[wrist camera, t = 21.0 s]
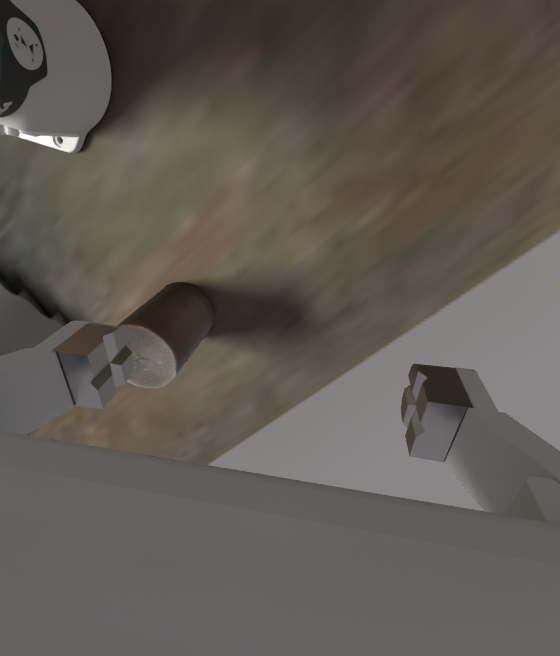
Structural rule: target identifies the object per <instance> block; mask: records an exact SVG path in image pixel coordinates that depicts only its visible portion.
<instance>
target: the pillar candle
mask: <svg viewBox="0 0 560 656" xmlns="http://www.w3.org/2000/svg"><path fill="white" fill-rule="evenodd" d="M213 322H214V310H213V307H212V304H211V303H210V301H209V299H208V298H207V297H206V295H205V294H204V293H203V292H202V291H201V290H199V289H198V288H197V287H194V286H193V285H190V284H187V283H186V284H185V283H182V282H177V283H171V284H169V285H166V286H165V288H164V289H162V290H161V291H160V292H158V293H157V294H156V295H155V296H153V297H152V298H151V299H150V300H148V301H147V302H146V303H145V304H144V305H142V306H141V307H140V308H138V309H137V310H136V311H135V312H133V313H132V314H131V315H130V316H129V317H127V318H126V319H125V320H123V321H122V322H121V323H120V324H119V325H117V326H120V327H124V328H125V329H126V330H128V334H129V338H130V341H129V342H128V344H127V347H128V348H129V349H130V350H131V351H132V353H133V357H134V368H133V371H132V373H131V376H130V378H129V379H128V380H127V382H129V383H132V384H133V385H135V386H139V387H145V388H149V389H151V388H155V389H157V388H160V387H163V386H166V385H167V384H169V383H170V382H171V381H172V380H173V379H174V378H175V377H176V374H177V373H178V372H179V370H180V369H181V368H182V366H183V365H184V363H185V362H187V360H188V359H189V357H190V356H191V354H192V353H193V352H194V350H195V349H196V348H197V347H198V345H199V344H200V342H201V341H202V340H203V338H204V337H205V336H206V334H207V333H208V332H209V330H210V329H211V327H212V325H213Z"/></svg>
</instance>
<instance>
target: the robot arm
mask: <svg viewBox="0 0 560 656" xmlns="http://www.w3.org/2000/svg"><path fill="white" fill-rule="evenodd" d="M110 94H111V67H110V62H109V57H108V53H107V50H106V47H105V44H104V41H103V39H102V36H101V34H100V32H99V30H98V28H97V27H96V25H95V23H94V21H93V20H92V18H91V17H90V16H89V14H88V13H87V12H86V10H85V9H84V8H83V7H82V6H81V5H80V4H79V3H78V2H77V1H76V0H0V135H4V133H6V134H7V135H11V136H16V137H20V138H23V139H26V140H29V141H33V142H36V143H39V144H42V145H46V146H49V147H52V148H55V149H59V150H62V151H65V152H69V153H77V152H79V151H80V149H81V148H82V145H83V143H84V140H85V137H86V134H87V133H88V132H89V131H90V130H91V129H92V128H93V127H94V126H95V125H96V124H97V123H98V122H99V121H100V120H101V118H102V117H103V115H104V113H105V111H106V109H107V106H108V103H109V99H110ZM61 138H62V139H63V143H62V141H61ZM129 341H130V338H129V334H128V330H126V329H125V328H124V327H120V326H113V325H106V324H99V323H91V322H85V321H71V322H70V323H68V324H67V325H65V326H64V327H63V328H61V329H60V330H58V331H57V332H56V333H54V334H53V335H51V336H50V337H49V338H47V339H46V340H44V341H43V342H42V343H40V344H39V345H37V346H36V347H34V348H33V349H32V348H26V349H23V350H20V351H16V352H13V353H10V354H7V355H4V356H0V656H560V451H559V450H558V449H556V448H555V447H553V446H552V445H550V444H549V443H548V442H546V441H545V440H543V439H541V438H540V437H539V436H537V435H536V434H535V433H533V432H532V431H530V430H529V429H527V428H526V427H525V426H523V425H521V424H520V423H519V422H517V421H516V420H514V419H513V418H512V417H510V416H509V415H507V414H506V413H502V412H498V410H497V408H496V406H495V405H494V403H493V401H492V399H491V397H490V395H489V394H488V392H487V390H486V388H485V386H484V385H483V383H482V381H481V379H480V377H479V375H478V374H477V372H476V371H475V370H473V369H464V368H450V367H441V366H431V365H422V364H413V365H412V367H411V370H410V373H409V380H410V384H411V385H409V386H408V387H407V388H405V390H404V393H403V397H402V405H401V415H402V421H403V423H404V425H405V426H406V427H407V428H408V429H407V432H406V435H405V437H406V441H407V446H408V451H409V456H412V457H418V458H423V459H429V460H434V461H440V462H445V463H444V464H445V466H446V467H447V468H448V469H449V470H450V471H451V473H452V474H453V475H454V476H455V477H456V479H457V480H458V481H459V482H460V483H461V485H462V486H463V487H464V488H465V489H466V490H467V492H468V493H469V494H470V495H471V496H472V498H473V499H474V500H475V501H476V502H477V504H478V505H479V506H480V507H481V508H482V509H483V511H479V510H473V509H466V508H461V507H455V506H449V505H443V504H437V503H430V502H424V501H418V500H412V499H405V498H399V497H394V496H388V495H382V494H376V493H369V492H364V491H358V490H352V489H346V488H340V487H334V486H328V485H322V484H317V483H311V482H305V481H299V480H293V479H287V478H281V477H275V476H269V475H263V474H257V473H251V472H245V471H239V470H233V469H227V468H221V467H215V466H209V465H203V464H197V463H191V462H185V461H179V460H173V459H167V458H161V457H155V456H149V455H143V454H137V453H131V452H125V451H119V450H113V449H107V448H101V447H95V446H89V445H83V444H77V443H71V442H65V441H59V440H53V439H47V438H41V437H35V436H29V435H26V434H28V433H30V432H31V431H33V430H35V429H37V428H38V427H40V426H42V425H44V424H45V423H47V422H49V421H51V420H52V419H54V418H56V417H58V416H59V415H61V414H63V413H65V412H66V411H68V410H70V409H72V408H73V407H74V405H75V406H83V407H91V408H99V409H103V408H104V407H105V406H106V405H107V404H108V403H109V401H110V400H111V399H112V398H113V397H114V396H115V394H116V387H118V386H120V385H122V384H124V383H126V381H127V380H128V379H129V378H130V376H131V373H132V371H133V368H134V357H133V353H132V351H131V350H130V349H129V348H128V347H127V344H128V342H129Z"/></svg>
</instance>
